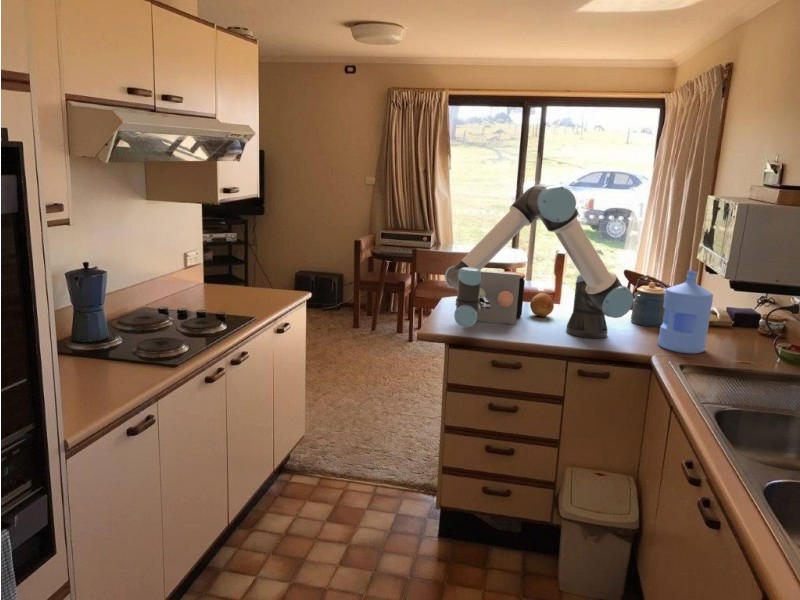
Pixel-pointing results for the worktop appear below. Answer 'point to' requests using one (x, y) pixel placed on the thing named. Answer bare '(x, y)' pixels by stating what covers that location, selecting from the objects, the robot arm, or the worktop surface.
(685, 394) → the worktop surface
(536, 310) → the onion
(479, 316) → the panel
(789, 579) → the worktop surface
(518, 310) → the coffee jar
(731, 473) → the worktop surface
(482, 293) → the sage button
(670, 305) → the water jug
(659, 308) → the canister
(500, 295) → the terracotta button
